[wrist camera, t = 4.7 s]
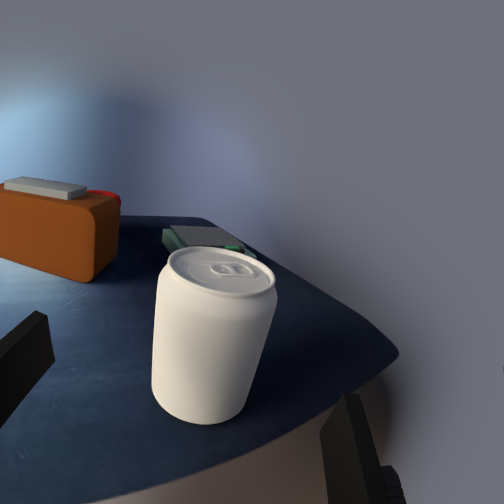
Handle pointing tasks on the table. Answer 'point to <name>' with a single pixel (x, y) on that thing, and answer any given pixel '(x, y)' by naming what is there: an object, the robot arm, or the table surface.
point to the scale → (175, 244)
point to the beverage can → (209, 332)
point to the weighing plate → (204, 236)
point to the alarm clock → (58, 227)
